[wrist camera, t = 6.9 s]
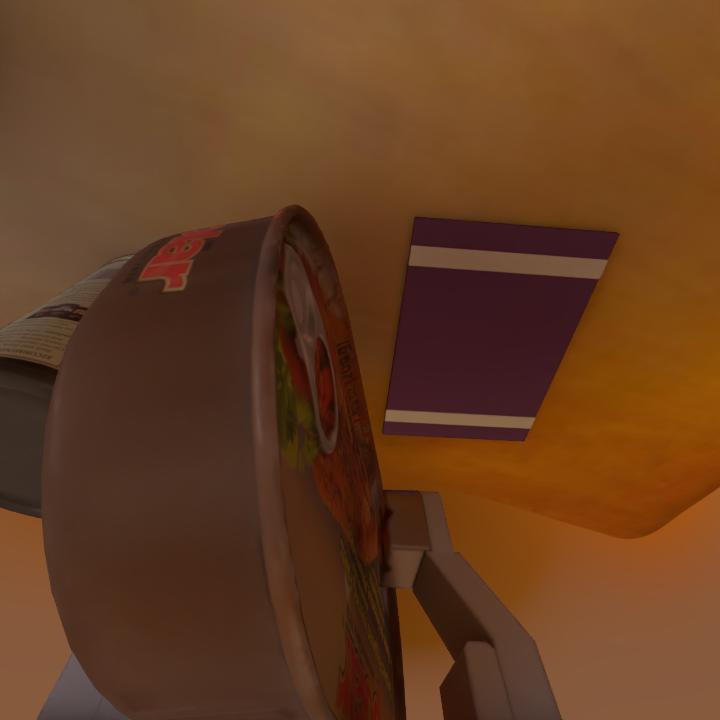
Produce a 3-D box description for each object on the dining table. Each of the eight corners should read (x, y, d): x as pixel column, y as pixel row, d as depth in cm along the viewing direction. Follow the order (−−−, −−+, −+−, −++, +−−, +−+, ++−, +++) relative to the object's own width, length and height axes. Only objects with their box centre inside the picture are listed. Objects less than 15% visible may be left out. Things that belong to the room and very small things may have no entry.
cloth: (616, 232, 25) (620, 234, 25) (522, 438, 36) (524, 442, 36) (414, 216, 24) (415, 218, 24) (382, 431, 36) (382, 434, 35)
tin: (392, 534, 17) (440, 836, 10) (324, 546, 17) (322, 853, 10) (321, 170, 8) (288, 410, 1) (187, 195, 8) (-485, 544, 1)
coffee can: (154, 386, 32) (39, 540, 21) (60, 285, 27) (-168, 415, 15) (254, 348, 30) (188, 496, 18) (173, 229, 25) (8, 332, 13)
